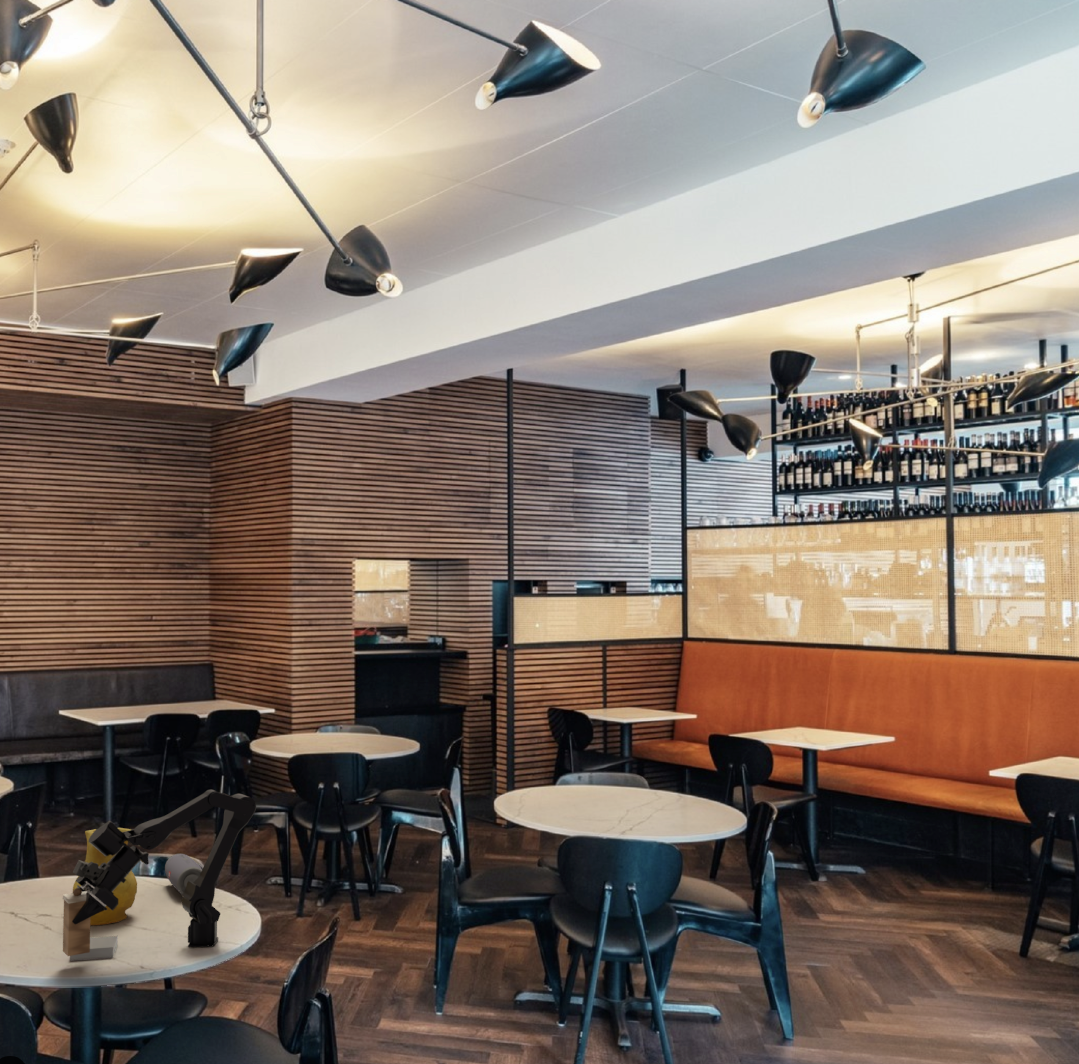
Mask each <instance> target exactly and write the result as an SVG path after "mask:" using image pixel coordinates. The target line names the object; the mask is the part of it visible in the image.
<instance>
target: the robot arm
mask: <svg viewBox="0 0 1079 1064" xmlns="http://www.w3.org/2000/svg"><path fill="white" fill-rule="evenodd" d="M214 807H215V808H220V809H223V810H224V813H223V821H222V826H221V829H220V831H219V833H218V835H217V837H216V840H215V841H214V844H213V845H212V848H211V850H210V852H209V855H208V856H207V859H206V860H205V863H204V865H203V868H201V869H202V872H201V874H200V876H199V877H198V878H197V879H196V880H195V881H194V882H193V883H192V882H190V881H188V883H187V886H186V889H185V891H184V892H183V894H182V895H181V894H180V895H181V897H182V899H181V906H182V909H184V911H186V912H187V913H188V915H189V917H190V918H191V920H189V921H190V923H189V925H188V927H187V943H188V945H187V946H188V948H194V947H195V948H197V947H214V946H215V945H216V944H217V942H218V940H219V937H218V922H219V919H220V917H221V912H220V911H219V910H218V909H217V908H216V907H214V906H213V902H214V900H215V899H214V898H215V892H216V891H215V890H216V884H217V881H218V879H219V876H220V874H221V872H222V870H223V868H224V866H225V863H226V861H227V859H228V857H229V854H230V852H231V851H232V848H233V847H234V844H235V842H236V840H237V838H238V834H239V833H240V831H241V830H242V829H243V828H244V827H246V825H248V823H249V822H250V820H251V818H253V816H254V814H255V813H256V809H257V805H256V802H255V800H254V799H253V798H252V797H251V796H248V795H245V794H242V793H235V794H232V795H230V794H227V793H223V792H220V791H216V790H214V789H207V790H206V791H204V792H203V793H202V794H200V795H198V796H197V797H195V798H193V799H191V800H190V801H187V803H185V804H183V805H181V806H180V807H178V808H177V809H174V810H173V811H171V812H169V813H168V814H166V815H163V816H161V817H157V818H153V819H150V820H148V821H144V822H143V823H140V824H138V825H137V826H135V827H134V829H130V830H129V831H125V832H121V831H120V830H119V829H118V828H119V827H117V826H116V824H115V823H114V822H113V821H111V820H108V821H107V822H106V823H105V824H103V825H101V826H100V827H98V828H95V829H96V830H95V829H94V830H95V831H94V832H93V834H92V835H91V836H90V838H89V843H90V844H92V845H93V846H94V847H95V848H96V849H97V850H99V851H100V852H101V853H102V854H103V855H104V856H109V855H111V856H113V855H114V856H113V857H112V858H111V860H110V861H109V862H108V863H107V864H106V863H105V862H104V863H102V864H101V865H100V866H98V864H97V863H93V862H90V863H87V862H85V860H84V861H83V860H80V859H78V861H77V863H76V865H75V867H74V869H73V871H72V873H73V874H75V876H76V877H78V876H79V877H78V878H75V881H76V882H77V883H79V884H80V885H81V886H79V885H77V888H80V889H81V890H82V892H84V891H87V895H86V902H85V904H84V905H83V907H82V908H81V909H80V911H79V912H78V914H77V915H76V916H75V918H74V919H73V921H72V922H73V923H74V924H78V923H80V922H82V921H83V920H85V919H87V918H89V917H91V916H93V915H95V914H98V913H100V912H102V911H104V910H107V908H106V906H108V907H109V908H110V909H111V910H112V911H113V910H114V909H115V908H116V906H117V905H118V898H117V897H116V896H114V893H113V891H114V889H115V888H116V887H117V886H118V885H119V884H120V883H121V882H122V883H124V882H125V881H126V879H125V877H126V876H127V875H128V874H129V873H130V871H131V870H132V871H133V869H134V868H135V867H136V866H137V865H138V863H139V862H140V861H141V862H142V863H143V864H144V865H149V861H150V860H149V853H148V852H147V850H148V851H150V850H154V849H156V848H157V847H158V846H159V845H161V844H162V843H163V842H164V841H166V840H167V839H168V837H169V836H170V835H171V834H172V833H173V832H175V830H177V829H179V828H181V827H182V826H184V825H186V824H188V823H189V822H191V821H192V820H195V819H196V818H197V817H199V816H201V815H203V814H204V813H206V812H207V811H209V810H211V809H213V808H214ZM125 841H127V842H128V844H131V846H129V845H126V844H125V843H124V842H125ZM137 846H138V847H140V848H141V849H144V850H146V851H144V852H143V851H141V850H140V849H139V848H138V847H137ZM91 895H92V896H91Z"/></svg>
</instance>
